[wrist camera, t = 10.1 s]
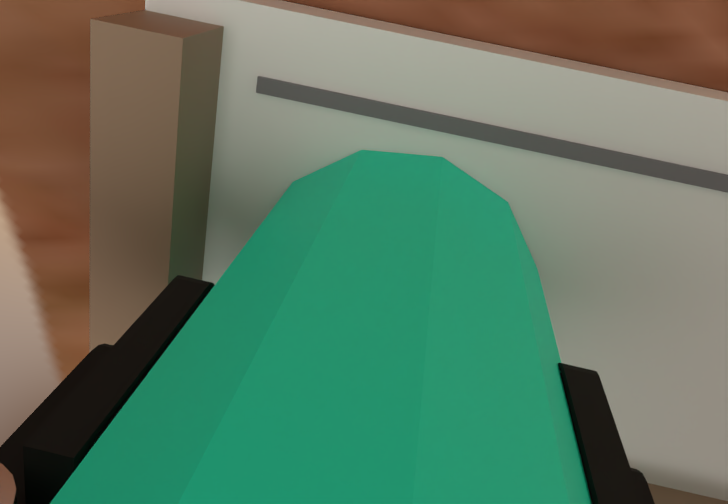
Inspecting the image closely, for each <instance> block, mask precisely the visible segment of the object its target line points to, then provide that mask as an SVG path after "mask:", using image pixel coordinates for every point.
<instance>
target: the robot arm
mask: <svg viewBox="0 0 728 504" xmlns="http://www.w3.org/2000/svg"><path fill="white" fill-rule="evenodd" d="M213 287H214V283H212V282H207V281H203V280H199V279H194V278H190V277H186V276H181V275H177V276H176V277H175V278H174V279H173V280H172V281H171V282H170V283H169V284H168V285H167V287H166V288H165V289H164V290H163V291H162V292H161V293H160V294H159V295H158V296H157V298H156V299H155V300H154V301H153V302H152V303H151V304H150V305H149V306H148V308H147V309H146V310H145V311H144V312H143V313H142V314H141V315H140V316H139V318H138V319H137V320H136V321H135V322H134V323H133V324H132V325H131V326H130V327H129V329H128V330H127V331H126V332H125V333H124V334H123V335H122V336H121V337H120V339H119V340H118V341H117V342H116V343H115V344H114V345H109V344H105V343H104V344H100V345H98V346H97V347H95V348H94V349H93V350H92V351H91V352H90V353H89V354H88V355H87V356H86V357H85V358H84V359H83V360H82V361H81V362H80V363H79V364H78V365H77V367H76V368H75V369H74V370H73V371H72V372H71V373H70V374H69V375H68V376H67V377H66V378H65V379H64V380H63V381H62V382H61V383H60V384H59V386H58V387H57V388H56V389H55V390H54V391H53V392H52V393H51V394H50V395H49V396H48V397H47V398H46V399H45V400H44V402H43V403H42V404H41V405H40V406H39V407H38V408H37V409H36V410H35V411H34V412H33V413H32V414H31V415H30V416H29V417H28V418H27V419H26V420H25V421H24V423H23V424H22V425H21V426H20V427H19V428H18V429H17V430H16V431H15V432H14V433H13V434H12V435H11V436H10V437H9V439H7V440H6V441H5V443H4V444H3V445H2V446H1V447H0V504H50V503H51V501H52V500H53V499H54V497H55V496H56V495H57V493H58V492H59V491H60V489H61V488H62V487H63V485H64V484H65V483H66V481H67V480H68V479H69V477H70V476H71V475H72V473H73V472H74V471H75V470H76V468H77V467H78V466H79V464H80V463H81V462H82V460H83V459H84V458H85V456H86V455H87V454H88V452H89V451H90V450H91V448H92V447H93V446H94V444H95V443H96V442H97V440H98V439H99V438H100V436H101V435H102V434H103V432H104V431H105V430H106V428H107V427H108V426H109V424H110V423H111V422H112V421H113V419H114V418H115V417H116V415H117V414H118V413H119V411H120V410H121V409H122V407H123V406H124V405H125V403H126V402H127V401H128V399H129V398H130V397H131V395H132V394H133V393H134V391H135V390H136V389H137V387H138V386H139V385H140V383H141V382H142V381H143V379H144V378H145V377H146V376H147V374H148V373H149V372H150V370H151V369H152V368H153V366H154V365H155V364H156V362H157V361H158V360H159V358H160V357H161V356H162V354H163V353H164V352H165V350H166V349H167V348H168V346H169V345H170V344H171V342H172V341H173V340H174V338H175V337H176V336H177V334H178V333H179V332H180V330H181V329H182V328H183V327H184V325H185V324H186V323H187V321H188V320H189V319H190V317H191V316H192V315H193V313H194V312H195V311H196V309H197V308H198V307H199V305H200V304H201V303H202V301H203V300H204V299H205V297H206V296H207V295H208V293H209V292H210V291H211V289H212V288H213ZM558 366H559V370H560V371H561V373H560V375H561V379H562V383H563V387H564V391H565V395H566V399H567V404H568V408H569V412H570V416H571V420H572V424H573V428H574V432H575V436H576V440H577V444H578V449H579V453H580V457H581V461H582V465H583V469H584V473H585V477H586V481H587V485H588V489H589V494H590V498H591V502H592V504H655V503H654V500H653V497H652V494H651V492H650V489H649V486H648V483H647V481H646V479H645V477H644V475H643V473H642V472H640V471H639V470H637V469H634V468H630V465H629V462H628V459H627V456H626V453H625V450H624V447H623V444H622V441H621V438H620V436H619V433H618V430H617V427H616V424H615V421H614V418H613V415H612V412H611V409H610V406H609V403H608V400H607V397H606V394H605V391H604V388H603V385H602V382H601V380H600V377H599V374H598V373H597V372H596V371H594V370H590V369H585V368H581V367H577V366H572V365H568V364H564V363H558Z"/></svg>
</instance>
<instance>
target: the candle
mask: <svg viewBox="0 0 728 504" xmlns="http://www.w3.org/2000/svg"><path fill="white" fill-rule="evenodd" d="M558 363H561V359H560V355H559V351H558V347H557V344H556V340H555V336H554V332H553V328H552V324H551V320H550V316H549V312H548V308H547V304H546V300H545V296H544V292H543V289H542V285H541V281H540V277H539V273H538V269H537V267H536V264H535V262H534V260H533V258H532V255H531V253H530V251H529V249H528V246H527V244H526V242H525V239H524V237H523V235H522V233H521V230H520V228H519V226H518V224H517V221H516V219H515V217H514V215H513V212H512V210H511V208H510V205H509V203H508V202H507V201H506V200H504V199H503V198H501V197H500V196H499V195H497V194H496V193H494V192H493V191H491V190H490V189H488V188H487V187H485V186H484V185H483V184H481V183H480V182H478V181H477V180H475V179H474V178H472V177H471V176H469V175H468V174H467V173H465V172H464V171H462V170H461V169H459V168H458V167H456V166H455V165H453V164H452V163H451V162H449V161H448V160H446V159H445V158H443V157H438V156H427V155H416V154H404V153H393V152H382V151H371V150H360V151H358V152H356V153H353V154H351V155H349V156H347V157H345V158H343V159H341V160H338V161H336V162H334V163H332V164H330V165H328V166H326V167H323V168H321V169H319V170H317V171H315V172H313V173H311V174H308V175H306V176H304V177H302V178H300V179H298V180H295V181H293V182H292V184H291V185H290V186H289V187H288V189H287V190H286V191H285V193H284V194H283V195H282V197H281V198H280V199H279V201H278V202H277V203H276V205H275V206H274V207H273V209H272V210H271V211H270V213H269V214H268V215H267V217H266V218H265V219H264V221H263V222H262V223H261V225H260V226H259V227H258V229H257V230H256V231H255V233H254V234H253V235H252V236H251V238H250V239H249V240H248V242H247V243H246V244H245V246H244V247H243V248H242V250H241V251H240V252H239V254H238V255H237V256H236V258H235V259H234V260H233V262H232V263H231V264H230V266H229V267H228V268H227V270H226V271H225V272H224V274H223V275H222V276H221V278H220V279H219V280H218V281H217V283H216V284H215V285H214V287H213V288H212V289H211V291H210V292H209V293H208V295H207V296H206V297H205V299H204V300H203V301H202V303H201V304H200V305H199V307H198V308H197V309H196V311H195V312H194V313H193V315H192V316H191V317H190V319H189V320H188V321H187V323H186V324H185V325H184V327H183V328H182V329H181V330H180V332H179V333H178V334H177V336H176V337H175V338H174V340H173V341H172V342H171V344H170V345H169V346H168V348H167V349H166V350H165V352H164V353H163V354H162V356H161V357H160V358H159V360H158V361H157V362H156V364H155V365H154V366H153V368H152V369H151V370H150V372H149V373H148V374H147V376H146V377H145V378H144V379H143V381H142V382H141V383H140V385H139V386H138V387H137V389H136V390H135V391H134V393H133V394H132V395H131V397H130V398H129V399H128V401H127V402H126V403H125V405H124V406H123V407H122V409H121V410H120V411H119V413H118V414H117V415H116V417H115V418H114V419H113V421H112V422H111V423H110V424H109V426H108V427H107V428H106V430H105V431H104V432H103V434H102V435H101V436H100V438H99V439H98V440H97V442H96V443H95V444H94V446H93V447H92V448H91V450H90V451H89V452H88V454H87V455H86V456H85V458H84V459H83V460H82V462H81V463H80V464H79V466H78V467H77V468H76V470H75V471H74V472H73V473H72V475H71V476H70V477H69V479H68V480H67V481H66V483H65V484H64V485H63V487H62V488H61V489H60V491H59V492H58V493H57V495H56V496H55V497H54V499H53V500H52V501H51V503H50V504H592V502H591V498H590V494H589V489H588V485H587V481H586V477H585V473H584V469H583V465H582V461H581V457H580V453H579V449H578V444H577V440H576V436H575V432H574V428H573V424H572V420H571V416H570V412H569V408H568V404H567V399H566V395H565V391H564V387H563V383H562V379H561V375H560V373H561V371H560V370H559V366H558Z"/></svg>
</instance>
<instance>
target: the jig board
mask: <svg viewBox="0 0 728 504" xmlns="http://www.w3.org/2000/svg"><path fill="white" fill-rule="evenodd" d="M360 150H371V151H382V152H393V153H404V154H416V155H427V156H438V157H443V158H445V159H446V160H448V161H449V162H451V163H452V164H453V165H455V166H456V167H458V168H459V169H461V170H462V171H464V172H465V173H467V174H468V175H469V176H471V177H472V178H474V179H475V180H477V181H478V182H480V183H481V184H483V185H484V186H485V187H487V188H488V189H490V190H491V191H493V192H494V193H496V194H497V195H499V196H500V197H501V198H503V199H504V200H506V201H507V202H508V203H509V205H510V208H511V210H512V212H513V215H514V217H515V219H516V221H517V224H518V226H519V228H520V230H521V233H522V235H523V237H524V239H525V242H526V244H527V246H528V249H529V251H530V253H531V255H532V258H533V260H534V262H535V264H536V267H537V269H538V273H539V277H540V281H541V285H542V289H543V292H544V296H545V300H546V304H547V308H548V312H549V316H550V320H551V324H552V328H553V332H554V336H555V340H556V344H557V347H558V351H559V355H560V359H561V363H564V364H568V365H572V366H577V367H581V368H585V369H590V370H594V371H596V372H597V373H598V374H599V377H600V380H601V382H602V385H603V388H604V391H605V394H606V397H607V400H608V403H609V406H610V409H611V412H612V415H613V418H614V421H615V424H616V427H617V430H618V433H619V436H620V438H621V441H622V444H623V447H624V450H625V453H626V456H627V459H628V462H629V465H630V468H634V469H637V470H639V471H640V472H642V473H643V475H644V477H645V479H646V481H647V483H648V486H649V489H650V492H651V494H652V497H653V500H654V503H655V504H728V92H724V91H719V90H714V89H709V88H704V87H699V86H694V85H690V84H685V83H680V82H675V81H670V80H665V79H661V78H656V77H651V76H646V75H641V74H636V73H631V72H627V71H622V70H617V69H612V68H607V67H602V66H598V65H593V64H588V63H583V62H578V61H573V60H568V59H564V58H559V57H554V56H549V55H544V54H539V53H534V52H530V51H525V50H520V49H515V48H510V47H505V46H501V45H496V44H491V43H486V42H481V41H476V40H471V39H467V38H462V37H457V36H452V35H447V34H442V33H438V32H433V31H428V30H423V29H418V28H413V27H408V26H404V25H399V24H394V23H389V22H384V21H379V20H374V19H370V18H365V17H360V16H355V15H350V14H345V13H341V12H336V11H331V10H326V9H321V8H316V7H311V6H307V5H302V4H297V3H292V2H287V1H282V0H145V10H142V11H136V12H130V13H123V14H117V15H111V16H105V17H99V18H93V19H90V351H89V353H90V352H91V351H92V350H93V349H94V348H95V347H97V346H98V345H100V344H104V343H105V344H109V345H114V344H115V343H116V342H117V341H118V340H119V339H120V337H121V336H122V335H123V334H124V333H125V332H126V331H127V330H128V329H129V327H130V326H131V325H132V324H133V323H134V322H135V321H136V320H137V319H138V318H139V316H140V315H141V314H142V313H143V312H144V311H145V310H146V309H147V308H148V306H149V305H150V304H151V303H152V302H153V301H154V300H155V299H156V298H157V296H158V295H159V294H160V293H161V292H162V291H163V290H164V289H165V288H166V287H167V285H168V284H169V283H170V282H171V281H172V280H173V279H174V278H175V277H176V276H177V275H181V276H186V277H190V278H194V279H199V280H203V281H207V282H212V283H214V285H215V284H216V283H217V281H218V280H219V279H220V278H221V276H222V275H223V274H224V272H225V271H226V270H227V268H228V267H229V266H230V264H231V263H232V262H233V260H234V259H235V258H236V256H237V255H238V254H239V252H240V251H241V250H242V248H243V247H244V246H245V244H246V243H247V242H248V240H249V239H250V238H251V236H252V235H253V234H254V233H255V231H256V230H257V229H258V227H259V226H260V225H261V223H262V222H263V221H264V219H265V218H266V217H267V215H268V214H269V213H270V211H271V210H272V209H273V207H274V206H275V205H276V203H277V202H278V201H279V199H280V198H281V197H282V195H283V194H284V193H285V191H286V190H287V189H288V187H289V186H290V185H291V184H292V182H293V181H295V180H298V179H300V178H302V177H304V176H306V175H308V174H311V173H313V172H315V171H317V170H319V169H321V168H323V167H326V166H328V165H330V164H332V163H334V162H336V161H338V160H341V159H343V158H345V157H347V156H349V155H351V154H353V153H356V152H358V151H360Z"/></svg>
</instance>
